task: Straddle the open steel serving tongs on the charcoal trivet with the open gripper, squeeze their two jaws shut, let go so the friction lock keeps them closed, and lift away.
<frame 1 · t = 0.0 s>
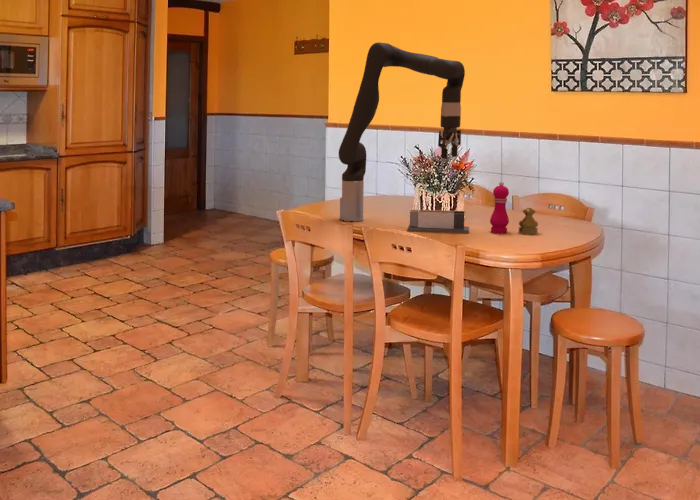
hand: (449, 157, 270), 29 cm above the table, fingers open, 8 cm apart
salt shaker: (527, 233, 275), on the table
pepper mill: (498, 232, 276), on the table
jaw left: (441, 218, 280), point 5 cm above the table, slide at 1.6 cm
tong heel: (414, 218, 279), on the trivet, point 5 cm above the table
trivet: (438, 230, 279), on the table
jaw right: (441, 220, 275), point 5 cm above the table, slide at 1.6 cm
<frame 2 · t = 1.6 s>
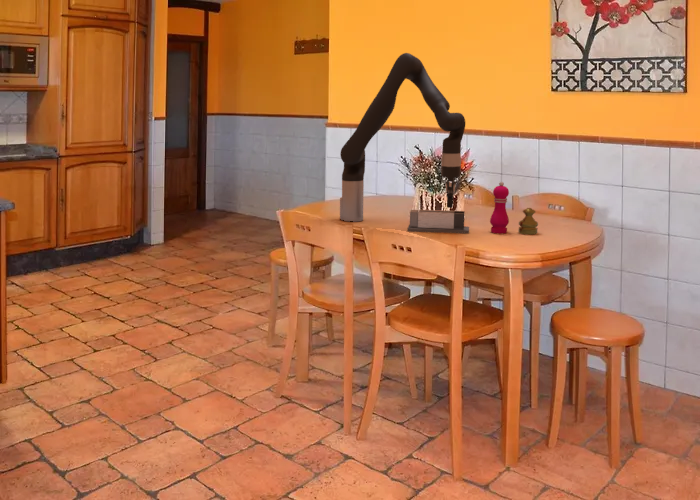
hand: (450, 205, 276), 10 cm above the table, fingers open, 8 cm apart
nothing on the table moved.
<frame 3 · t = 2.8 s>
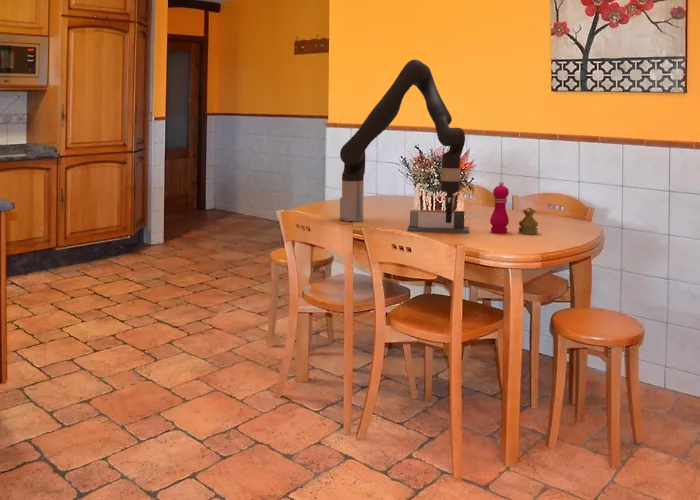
hand: (448, 221, 277), 4 cm above the table, fingers open, 6 cm apart
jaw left: (441, 218, 280), point 5 cm above the table, slide at 1.4 cm, touching gripper
jaw right: (441, 220, 275), point 5 cm above the table, slide at 1.4 cm, touching gripper
everything else where it was.
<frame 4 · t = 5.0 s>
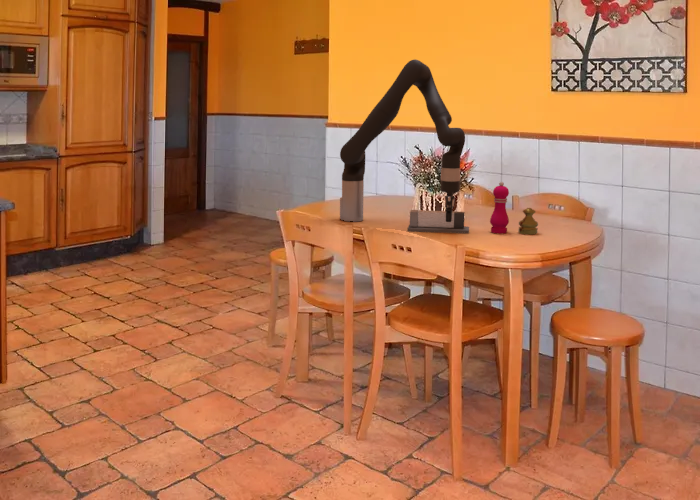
hand: (448, 220, 277), 4 cm above the table, fingers open, 8 cm apart
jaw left: (441, 218, 279), point 5 cm above the table, slide at -0.1 cm
jaw right: (441, 219, 277), point 5 cm above the table, slide at -0.1 cm
everything else where it was.
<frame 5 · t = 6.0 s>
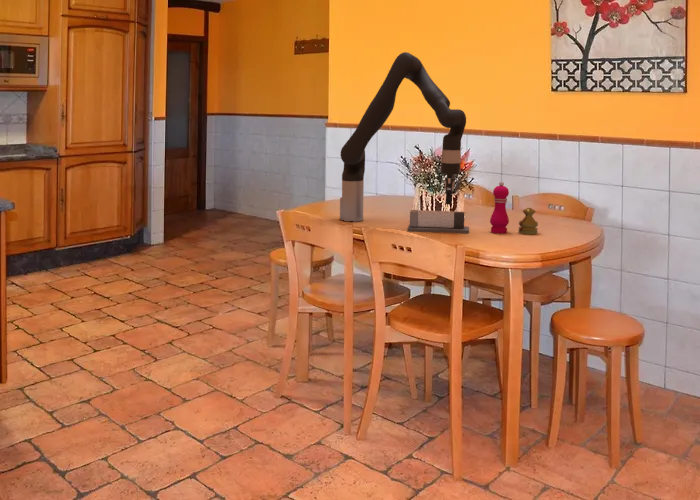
hand: (448, 202, 276), 11 cm above the table, fingers open, 8 cm apart
nothing on the table moved.
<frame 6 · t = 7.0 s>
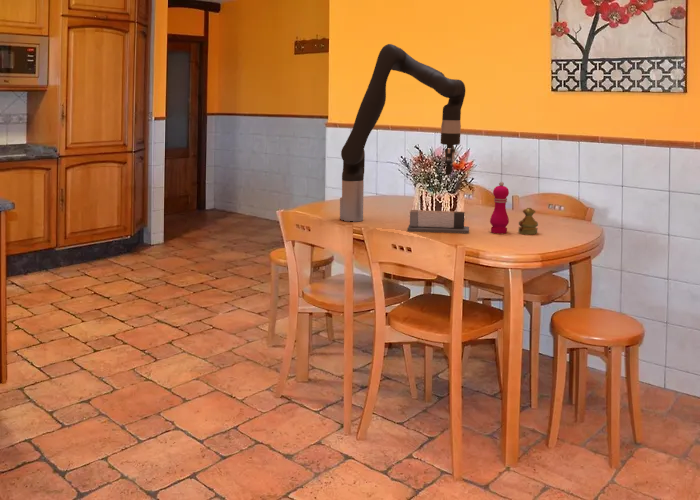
hand: (448, 173, 275), 23 cm above the table, fingers open, 8 cm apart
nothing on the table moved.
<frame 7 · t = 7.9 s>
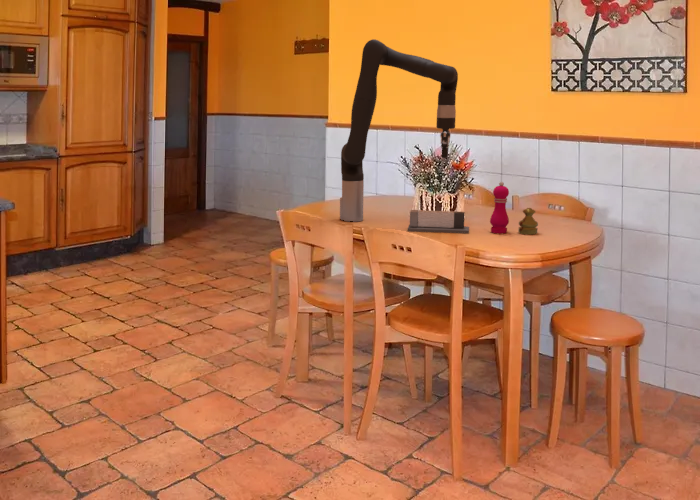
hand: (444, 156, 286), 28 cm above the table, fingers open, 8 cm apart
nothing on the table moved.
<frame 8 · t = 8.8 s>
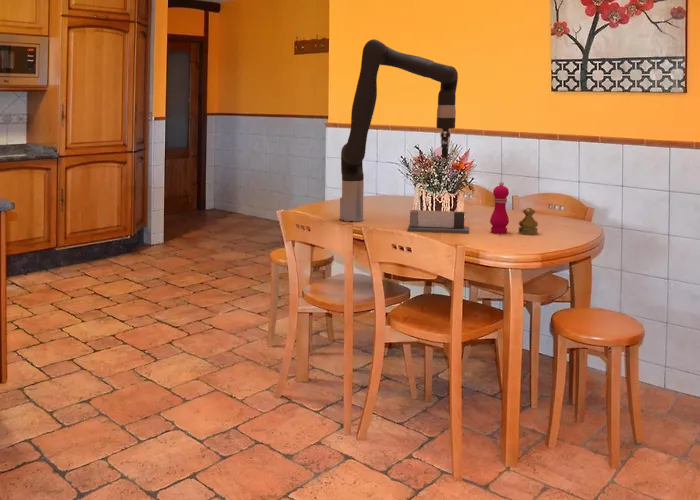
hand: (444, 156, 286), 28 cm above the table, fingers open, 8 cm apart
nothing on the table moved.
at the end: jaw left slide at -0.1 cm; jaw right slide at -0.1 cm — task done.
